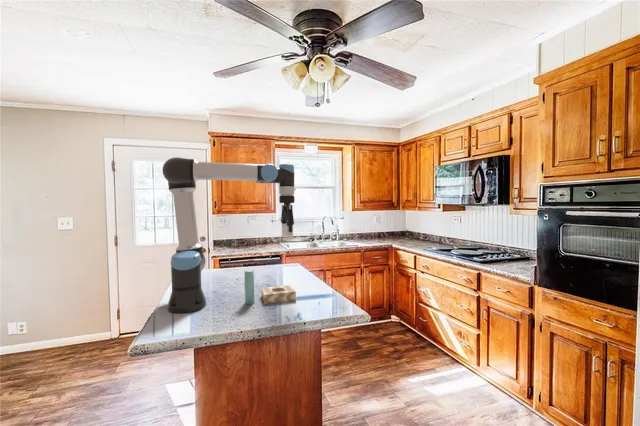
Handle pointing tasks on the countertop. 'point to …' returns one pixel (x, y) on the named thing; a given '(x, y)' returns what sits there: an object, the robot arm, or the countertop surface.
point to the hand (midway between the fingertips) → (287, 237)
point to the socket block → (278, 294)
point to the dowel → (249, 287)
